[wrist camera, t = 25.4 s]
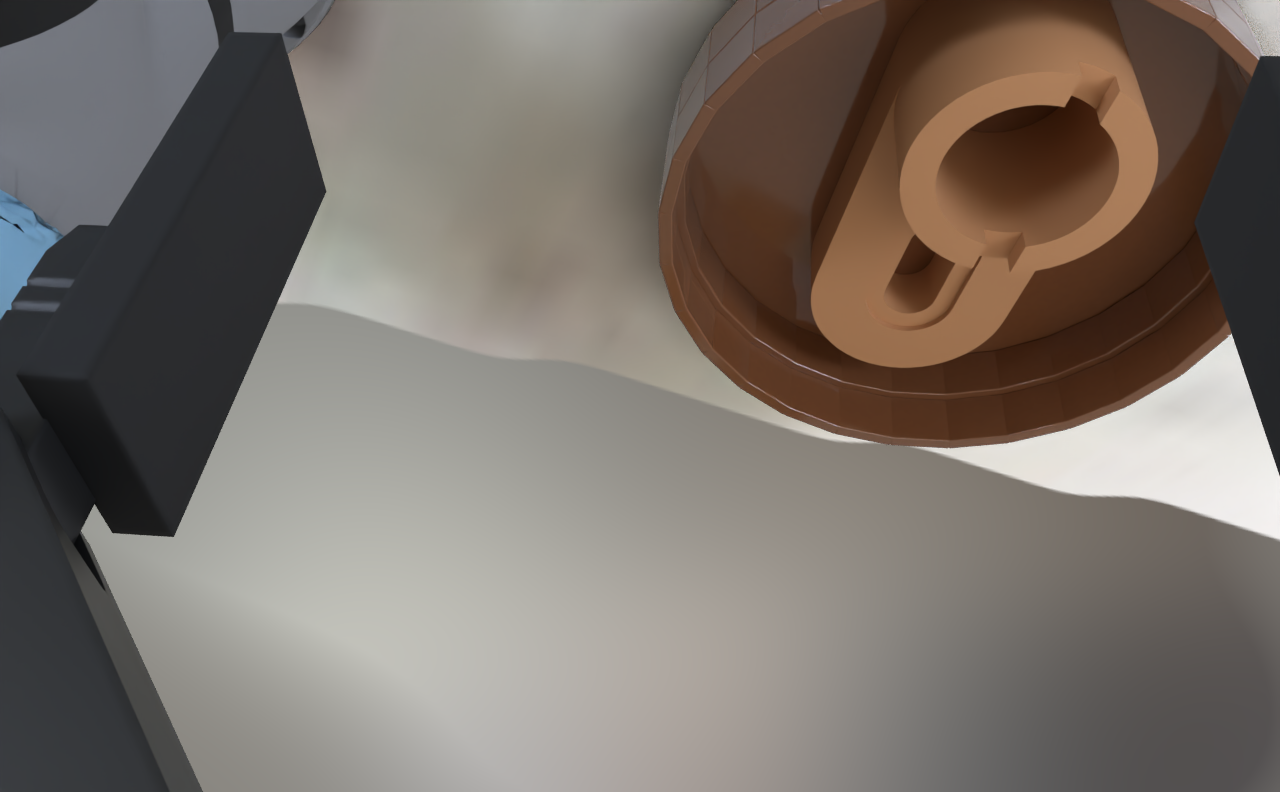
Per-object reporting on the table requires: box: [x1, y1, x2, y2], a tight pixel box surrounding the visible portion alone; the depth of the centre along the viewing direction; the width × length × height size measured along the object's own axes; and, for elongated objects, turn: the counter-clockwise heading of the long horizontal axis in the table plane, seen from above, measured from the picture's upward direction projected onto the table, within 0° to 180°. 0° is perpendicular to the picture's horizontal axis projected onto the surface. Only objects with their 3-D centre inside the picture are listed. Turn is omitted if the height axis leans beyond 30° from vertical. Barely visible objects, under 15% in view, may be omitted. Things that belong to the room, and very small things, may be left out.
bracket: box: [811, 0, 1158, 368], centre depth 46 cm, size 18×8×7 cm, turn 168°
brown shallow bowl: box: [658, 0, 1265, 448], centre depth 47 cm, size 23×23×6 cm
